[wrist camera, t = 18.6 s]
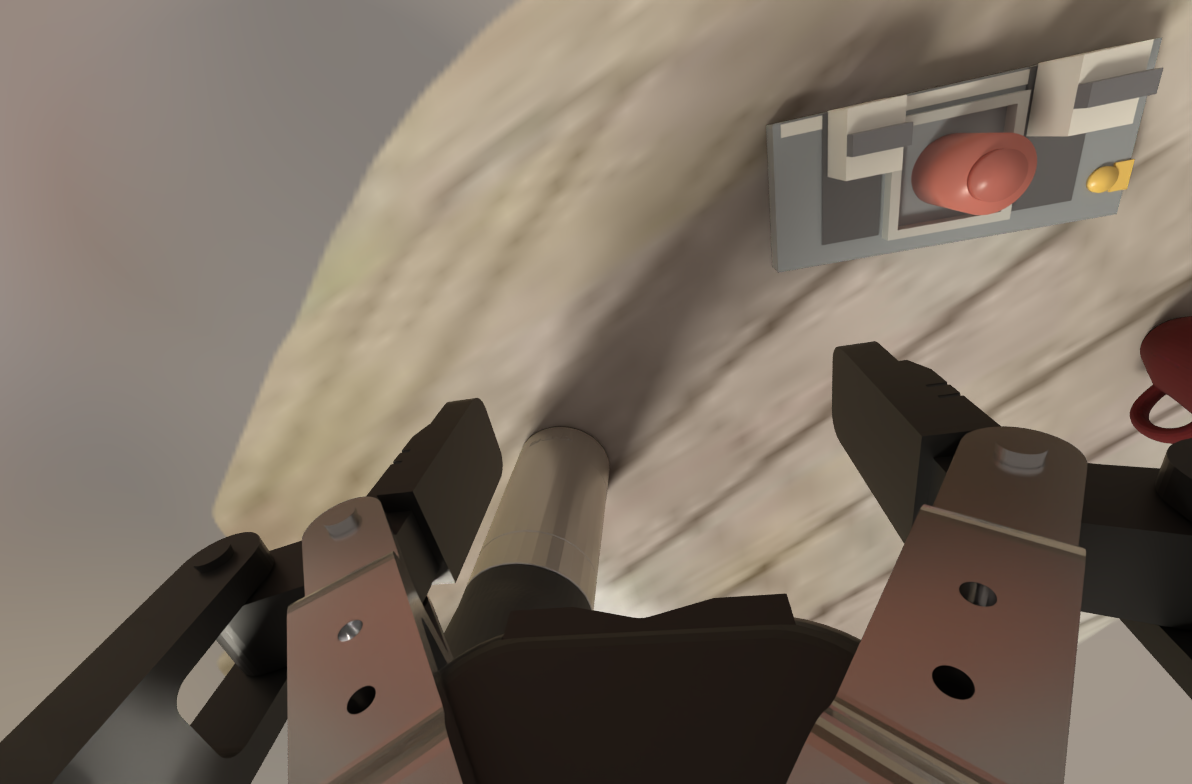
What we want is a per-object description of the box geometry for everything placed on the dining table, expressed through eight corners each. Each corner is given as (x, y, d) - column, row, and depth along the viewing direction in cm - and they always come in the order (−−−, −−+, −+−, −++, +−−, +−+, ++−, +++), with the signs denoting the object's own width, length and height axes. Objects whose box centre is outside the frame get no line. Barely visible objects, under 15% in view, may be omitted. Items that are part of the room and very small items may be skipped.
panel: (1094, 209, 35) (1131, 215, 32) (772, 266, 39) (781, 275, 36) (1134, 42, 30) (1180, 33, 28) (766, 125, 34) (776, 124, 32)
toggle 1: (878, 166, 33) (909, 171, 29) (827, 176, 33) (851, 182, 29) (881, 98, 31) (915, 93, 27) (827, 110, 32) (854, 107, 28)
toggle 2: (1083, 124, 31) (1148, 123, 27) (1026, 136, 31) (1081, 136, 27) (1099, 49, 29) (1171, 35, 25) (1038, 62, 29) (1099, 52, 25)
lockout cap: (978, 197, 33) (1036, 208, 28) (908, 210, 34) (952, 223, 29) (988, 125, 31) (1052, 124, 26) (914, 141, 32) (962, 142, 27)
